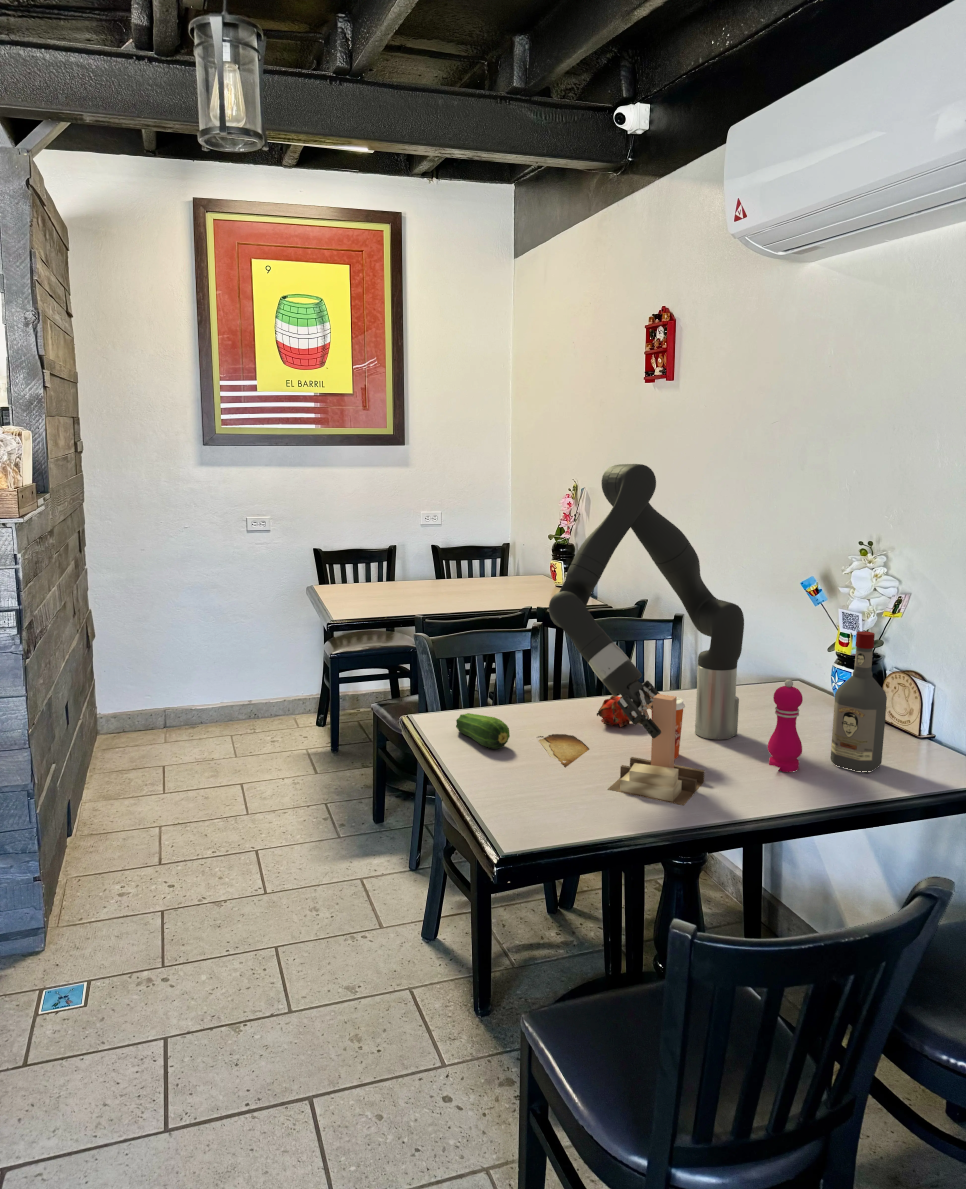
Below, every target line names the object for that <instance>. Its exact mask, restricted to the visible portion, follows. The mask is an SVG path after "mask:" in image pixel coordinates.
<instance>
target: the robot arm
mask: <svg viewBox="0 0 966 1189" xmlns="http://www.w3.org/2000/svg"><path fill="white" fill-rule="evenodd" d="M656 478H657V477H656V475H655V473H654V470H652V468H651V467H649V466H647V465H645V464H641V463H640V464H639V463H622V464H619V463H618V464H614V465H612V466H609V467H608V468H606V470H605V471H604V472H603V474H602V477H601V489H602V493H603V495H604V497H605V499H606V500H607V502H608V503H609V504H610V505H611V510H610V512H608V514H607V515H606V517H605V518H604V519H603V521H601V523H599V525H598V526H597V527H596V528H595V529H594V530H593V531H592V532H591V533H590V534H588V537H587V538H585V539H584V541H583V543H582V544H581V545H580V546H579V549H578V550H577V551H576V554H575V556H574V557H573V559H572V561H571V563H570V565H569V568H568V569H567V572H566V575H565V579H564V582H563V583H562V586H561V588H560V590H559V591H558V592H557V593H555V594H554V595H553V596H552V597H551V598H550V601H549V603H548V612H549V613H548V614H549V617H550V620H551V621H552V622H553V624H554V625H556V626H557V627H558V628H561V629H562V630H563V632H565V633H566V635H567V636H568V637H569V638H570V640H571V641H572V643H573V645H574V647H575V648H576V650H577V651H578V652H579V654H580V655H581V656H582V657H583V658H584V660H585V661H586V662H587V663H588V665H589V666H590V668H591V670H592V671H593V672H594V674H595V675H596V676H597V677H598V679H599V680H600V681H601V682H602V684H603V685H604V686H605V687H606V689H607V690H608V691H609V692H610V693H611V696H612V695H613V696H615V697H616V696H618V697H619V696H620V697H621V696H622V698H621V699H620V700H618V701H617V703H618V705H619V706H620V707H621V709H622V710H623V711H624V713H625V714H626V715H627V717H628V718H629V719H630V720H631V721H630V722H631V723H632V724H633V725H634V726H636V725H637V724H638V725H639V726H642V727H643V728H644V729H645V731H646V733H648V734H649V735H650V737H651V739H652V738H656V737H657V736H658V735H660V734H661V730H660V729H659V728H658V726H657V725H656V724H655V723H654V722H653V720H652V717H650V716H649V713H648V710H651V712H652V711H653V697H655V696H656V695H657V694H661V693H660V692H659V691H658V690H657V688H655V687H654V685H653V684H652V683H651V681H649V680H645V681H644V682H643V683H641V682H640V678H642V673H641V671H640V670H639V669H638V668H637V667H636V665H635V664H634V663H633V662H632V661H631V658H629V657H628V656H627V654H625V652H624V650H622V648H620V647H619V646H618V645H617V643H615V642H614V641H613V640H612V638H611V637H610V636H609V635H608V634H607V633H606V631H605V630H604V629H603V628H602V627H601V625H600V624H598V623H597V621H596V619H595V618H594V617H593V615H592V614H591V612H590V611H589V609H588V608H587V605H588V603H589V600H590V598H591V596H592V593H593V591H594V589H595V588H596V586H597V585H598V583H599V581H600V579H601V578H602V575H603V573H604V571H605V570H606V568H607V566H608V564H609V562H610V560H611V558H612V556H613V554H614V552H615V551H616V549H617V548H618V546H619V544H620V543H621V542H622V540H623V539H624V537H625V536H626V535H627V533H628V531H630V529H631V530H632V532H633V533H634V535H635V536H636V537H637V539H638V541H639V543H640V544H641V545H642V547H643V548H644V549H645V550H646V552H647V553H648V555H649V556H650V558H651V560H652V562H653V563H654V564H655V566H656V567H657V568H658V570H659V571H660V573H661V574H662V576H663V577H664V578H665V580H666V581H667V582H668V584H669V585H670V587H671V589H672V590H673V591H674V593H675V594H676V596H677V597H678V598H679V600H680V602H681V604H682V605H683V607H684V609H685V611H686V613H687V615H688V616H689V619H690V620H691V622H692V624H693V626H694V627H695V628H696V630H697V631H698V632H699V633H701V634H702V635H704V636H707V637H710V644H709V649H706V650H703V651H701V652H699V654H698V656H697V673H696V674H697V675H696V676H697V677H696V697H695V698H696V701H695V720H694V721H695V723H694V734H695V735H697V736H699V737H700V738H704V739H709V740H728V739H731V738H733V737H734V736H738V729H739V709H740V708H739V706H740V705H739V704H740V698H739V696H737V676H738V675H737V674H738V661H739V659H740V658H741V657H740V656H741V655H742V649H743V648H742V647H743V640H744V632H745V617H744V612H743V610H742V609H741V607H740V606H739V605H737V604H736V603H733V602H730V601H728V600H727V601H726V600H722V599H718V598H717V597H716V596H714V595H713V593H712V592H711V591H710V590H709V588H708V586H706V584H705V583H704V581H703V578H702V577H701V566H700V558H699V556H698V554H697V551H696V549H695V548H694V546H693V545H692V544H691V542H690V541H689V539H688V538H687V536H686V535H685V534H684V533H683V531H682V530H680V529H679V528H678V526H676V525H675V524H674V523H673V522H671V521H670V520H668V518H666V517H665V516H664V515H662V514H661V513H660V512H659V511H657V510H656V508H654V507H653V506H652V505H651V503H650V501H651V499H652V498H653V497H654V494H655V492H656V489H657V488H656V487H657V479H656ZM631 713H632V714H631ZM633 716H635V718H634V717H633Z"/></svg>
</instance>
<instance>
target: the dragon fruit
mask: <svg viewBox="0 0 966 1189" xmlns="http://www.w3.org/2000/svg"><path fill="white" fill-rule="evenodd" d="M621 698H622V696H621V695H620V696H619V695H618V696H616V697H615V696H613V695H612V694H611V695H610V697H609V698H607V699H604V700H603V702H602V705H601V706H600V708H599V710H598V711H597V712H596V717H600V718H601V720H600V722H601V723H603V725H609V726H615V725H619V728H623V727H624V726H627V725H630V722H631V720H630V719H629V718H628V717H627V715H626V714H625V713H624V711H623V710H622V709H621V707H620V706H619V705H618V703H617V701H618V700H620V699H621ZM631 714H632V713H631ZM633 717H634V718H635V716H633Z"/></svg>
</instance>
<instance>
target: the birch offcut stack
mask: <svg viewBox="0 0 966 1189" xmlns="http://www.w3.org/2000/svg"><path fill="white" fill-rule="evenodd" d="M681 788H682V781H681V780H678V769H675V768H668V767H660V766H653V765H646V764H638V763H634V765H633V766H632V768H631V769H630V771H629V772H628V773H627V774H626V775H625V776H624V777H622V778H621V779H620V791H624V792H629V793H634V794H639V795H644V796H648V797H653V798H658V799H663V800H668V801H672V802H673V800H674V799H675V798H676V797H677V796H678V795H679V794H680V793H681Z"/></svg>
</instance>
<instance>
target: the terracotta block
mask: <svg viewBox="0 0 966 1189" xmlns="http://www.w3.org/2000/svg"><path fill="white" fill-rule="evenodd" d="M677 697H678V696H675V695H669V694H661V693H660V694H657V695H656V696H655V697H653V717H652V716H651V719H652V720H653V722H654V723H655V724H656V725H657V726H658V728H659V729H660V730H661V734H660V735H658V736H657V737H656V738H652V737H651V747H650V748H651V749H650V750H651V751H650V752H651V754H650V760H651V765H653V766H660V767H668V768H674V765H675V759H674V752H675V726H676V701H677Z"/></svg>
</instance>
